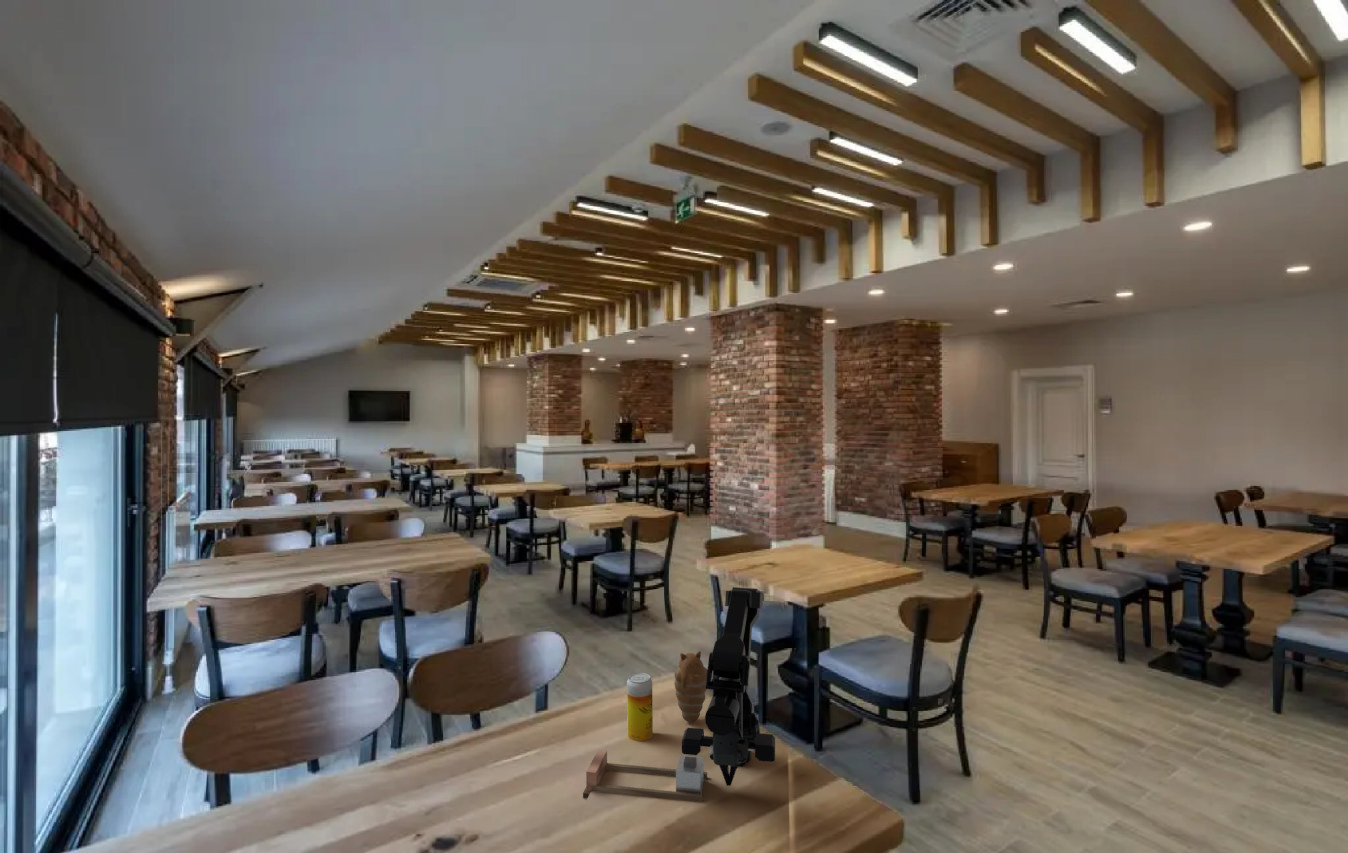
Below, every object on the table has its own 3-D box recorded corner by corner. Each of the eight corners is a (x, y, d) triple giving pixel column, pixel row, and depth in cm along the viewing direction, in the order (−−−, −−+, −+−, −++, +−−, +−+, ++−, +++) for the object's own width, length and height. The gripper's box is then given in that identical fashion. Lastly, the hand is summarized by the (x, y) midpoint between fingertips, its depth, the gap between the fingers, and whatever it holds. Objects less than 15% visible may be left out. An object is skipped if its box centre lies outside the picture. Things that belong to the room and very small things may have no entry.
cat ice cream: (678, 731, 154) (677, 659, 153) (670, 716, 161) (670, 647, 161) (712, 727, 156) (712, 655, 155) (703, 712, 163) (702, 644, 163)
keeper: (680, 778, 133) (680, 751, 132) (704, 780, 132) (703, 753, 131) (676, 795, 127) (675, 767, 126) (700, 797, 126) (700, 769, 126)
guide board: (597, 769, 138) (596, 747, 138) (709, 780, 134) (709, 757, 133) (583, 797, 128) (582, 773, 128) (704, 810, 124) (704, 785, 123)
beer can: (652, 745, 147) (651, 683, 147) (626, 745, 147) (625, 683, 147) (653, 732, 153) (652, 672, 153) (628, 732, 154) (628, 672, 153)
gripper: (676, 726, 121) (677, 805, 121) (774, 734, 118) (774, 815, 118) (685, 699, 132) (686, 771, 132) (775, 706, 129) (775, 780, 129)
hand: (728, 784), depth 128 cm, fingers closed
